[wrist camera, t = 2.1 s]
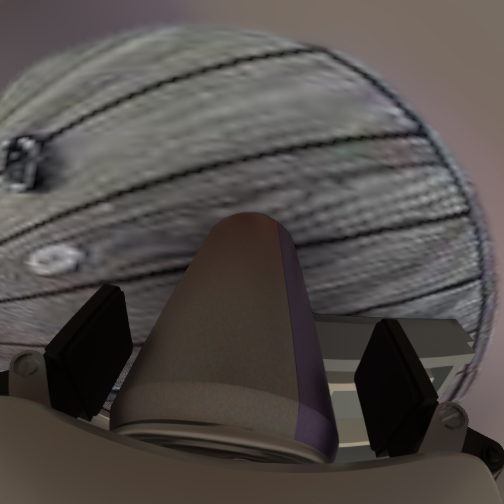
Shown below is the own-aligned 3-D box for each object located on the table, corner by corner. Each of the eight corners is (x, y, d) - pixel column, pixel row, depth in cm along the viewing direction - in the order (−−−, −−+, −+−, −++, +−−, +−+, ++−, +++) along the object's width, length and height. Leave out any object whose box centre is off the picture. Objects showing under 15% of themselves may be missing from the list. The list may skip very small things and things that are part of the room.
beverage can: (313, 245, 18) (396, 469, 4) (259, 309, 20) (247, 524, 6) (238, 191, 17) (136, 377, 3) (188, 263, 19) (79, 463, 5)
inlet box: (391, 427, 26) (401, 459, 21) (259, 430, 26) (257, 469, 21) (455, 319, 20) (482, 352, 15) (285, 311, 20) (290, 357, 15)
